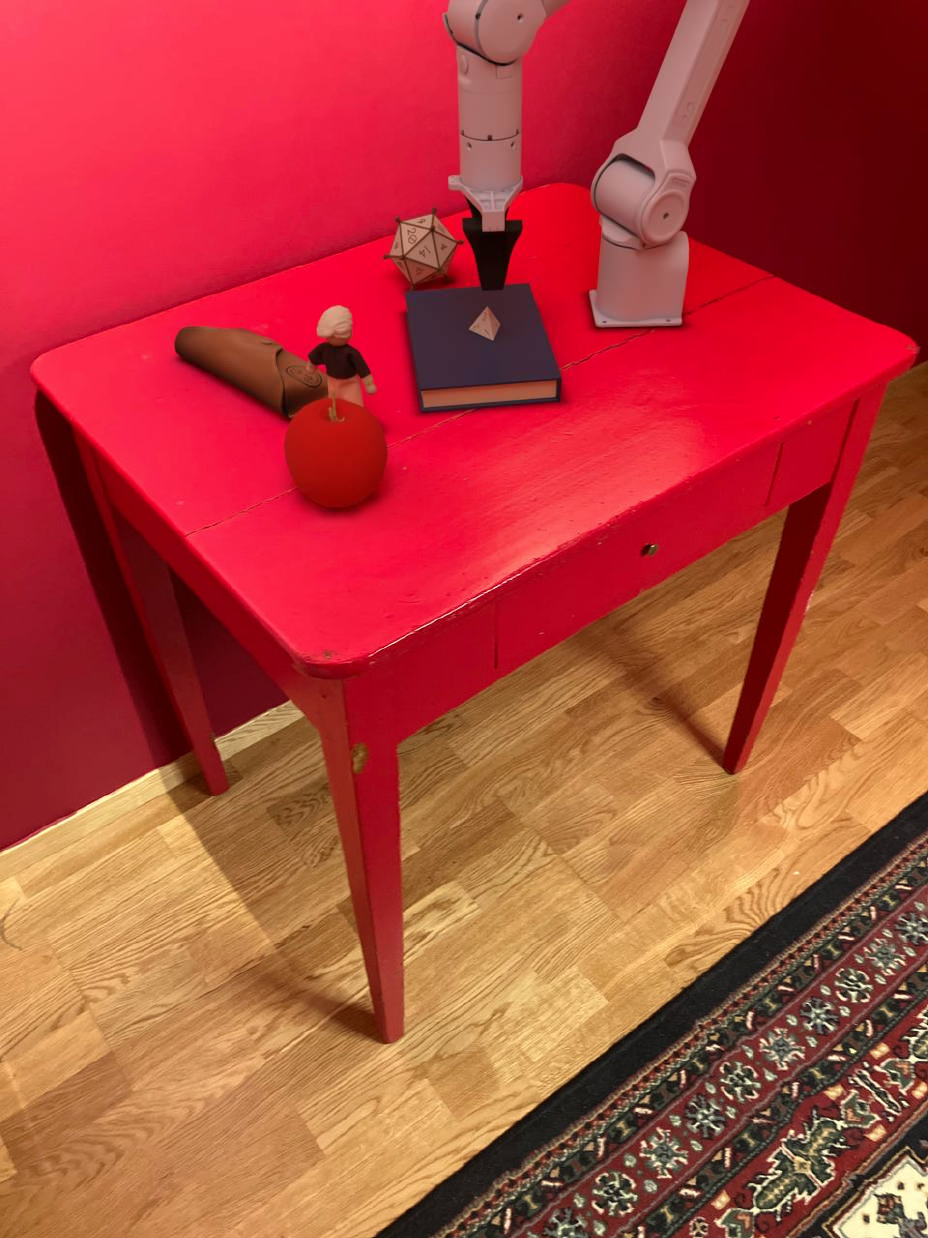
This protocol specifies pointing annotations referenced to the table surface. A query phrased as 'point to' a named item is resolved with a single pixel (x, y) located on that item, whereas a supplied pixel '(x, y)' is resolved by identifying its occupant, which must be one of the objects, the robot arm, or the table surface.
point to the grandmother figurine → (340, 357)
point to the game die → (423, 249)
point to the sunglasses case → (253, 366)
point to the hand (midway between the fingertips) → (491, 270)
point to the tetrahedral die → (486, 325)
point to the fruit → (335, 452)
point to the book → (480, 349)
